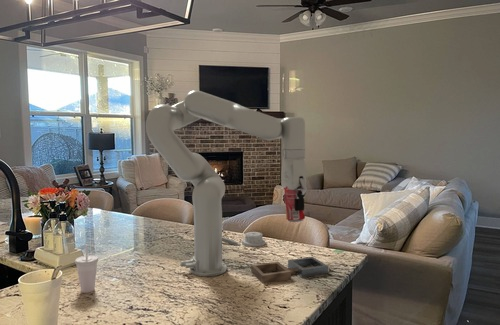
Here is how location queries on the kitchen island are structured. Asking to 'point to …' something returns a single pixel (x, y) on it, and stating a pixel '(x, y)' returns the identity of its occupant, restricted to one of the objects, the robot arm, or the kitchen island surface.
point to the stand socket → (270, 277)
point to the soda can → (292, 206)
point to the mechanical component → (253, 239)
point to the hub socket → (297, 264)
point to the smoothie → (87, 271)
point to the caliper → (230, 241)
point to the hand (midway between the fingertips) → (294, 208)
